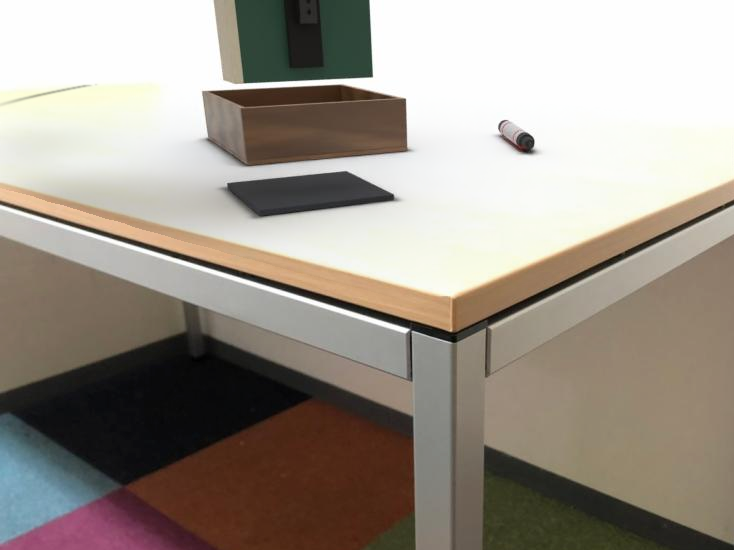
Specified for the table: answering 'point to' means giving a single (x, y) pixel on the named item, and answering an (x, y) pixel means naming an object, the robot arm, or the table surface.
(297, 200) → the mat
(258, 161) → the box
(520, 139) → the marker
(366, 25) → the book
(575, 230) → the table surface
